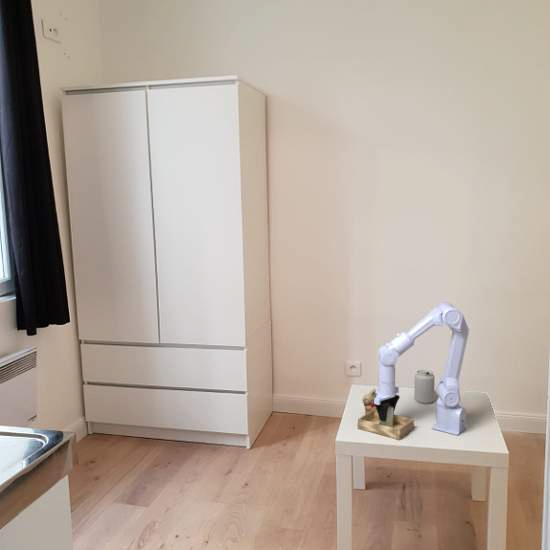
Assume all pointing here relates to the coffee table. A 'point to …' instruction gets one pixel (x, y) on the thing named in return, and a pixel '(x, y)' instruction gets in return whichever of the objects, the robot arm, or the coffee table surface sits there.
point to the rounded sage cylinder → (388, 418)
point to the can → (424, 386)
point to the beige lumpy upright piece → (369, 401)
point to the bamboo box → (396, 432)
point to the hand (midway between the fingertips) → (386, 417)
